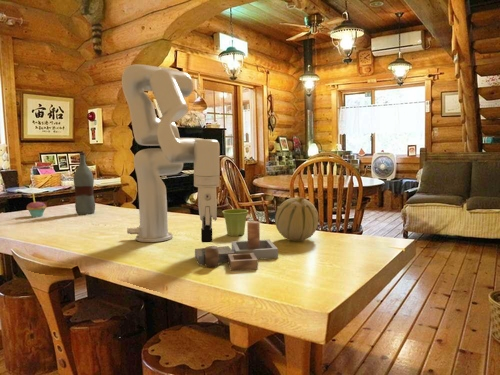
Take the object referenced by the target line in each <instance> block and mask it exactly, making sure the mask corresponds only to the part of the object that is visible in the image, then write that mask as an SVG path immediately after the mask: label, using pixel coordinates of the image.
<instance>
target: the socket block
mask: <svg viewBox="0 0 500 375" xmlns="http://www.w3.org/2000/svg"><path fill="white" fill-rule="evenodd" d="M258 260H259V259H257V258H256V257H255V255H254V253H243V254H228V266H229V269H230V271H231V272H235V271H246V270H247V271H250V270H258V269H259V268H258V266H259V265H258V264H259V262H258Z"/></svg>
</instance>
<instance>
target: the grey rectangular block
mask: <svg viewBox="0 0 500 375" xmlns="http://www.w3.org/2000/svg"><path fill="white" fill-rule="evenodd" d="M217 247H218V248H219V264H227V263H228V254H235V253H234V252H233V251H232V247H230V246H229V245H226V246H217ZM194 258H195V260H196V262H197V265H198V266H204V265H205V266H206V262H205V247H202V248H201V247H200V248H195V249H194Z"/></svg>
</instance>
